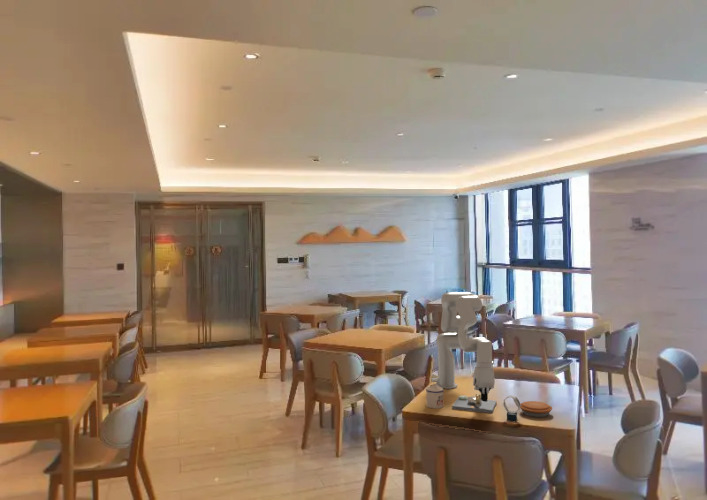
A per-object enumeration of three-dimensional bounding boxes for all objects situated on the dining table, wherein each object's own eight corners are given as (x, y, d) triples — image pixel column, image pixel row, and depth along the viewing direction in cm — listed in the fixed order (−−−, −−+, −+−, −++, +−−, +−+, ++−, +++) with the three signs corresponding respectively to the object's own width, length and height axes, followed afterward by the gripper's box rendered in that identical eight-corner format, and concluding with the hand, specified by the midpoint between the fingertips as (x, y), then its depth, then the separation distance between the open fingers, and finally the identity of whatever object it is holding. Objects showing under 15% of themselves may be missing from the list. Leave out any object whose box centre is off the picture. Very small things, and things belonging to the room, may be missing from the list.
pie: (555, 419, 250) (555, 409, 251) (521, 418, 253) (521, 407, 253) (548, 410, 266) (548, 400, 266) (517, 408, 268) (517, 398, 268)
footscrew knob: (466, 400, 276) (466, 389, 276) (480, 400, 276) (479, 389, 276) (471, 407, 263) (471, 395, 263) (485, 407, 263) (485, 395, 263)
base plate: (452, 408, 268) (452, 402, 268) (458, 399, 284) (458, 393, 284) (492, 413, 260) (492, 406, 260) (496, 403, 277) (496, 397, 277)
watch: (520, 421, 247) (520, 398, 247) (502, 420, 250) (502, 396, 250) (521, 418, 252) (521, 395, 252) (504, 416, 255) (503, 393, 255)
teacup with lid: (439, 409, 266) (439, 386, 266) (423, 407, 271) (423, 384, 271) (448, 404, 276) (448, 381, 277) (432, 401, 281) (432, 379, 281)
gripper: (492, 362, 271) (492, 397, 271) (467, 364, 267) (467, 400, 267) (501, 365, 264) (501, 401, 264) (475, 367, 259) (475, 404, 259)
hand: (484, 400), depth 265 cm, fingers closed
